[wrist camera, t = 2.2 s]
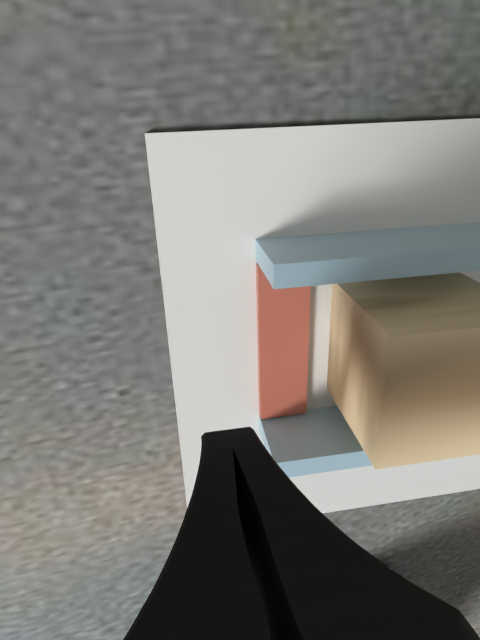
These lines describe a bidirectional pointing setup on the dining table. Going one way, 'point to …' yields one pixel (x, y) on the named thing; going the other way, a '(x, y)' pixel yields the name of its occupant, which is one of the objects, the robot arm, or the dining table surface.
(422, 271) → the trough
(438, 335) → the maple block
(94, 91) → the dining table surface
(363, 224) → the white mat
